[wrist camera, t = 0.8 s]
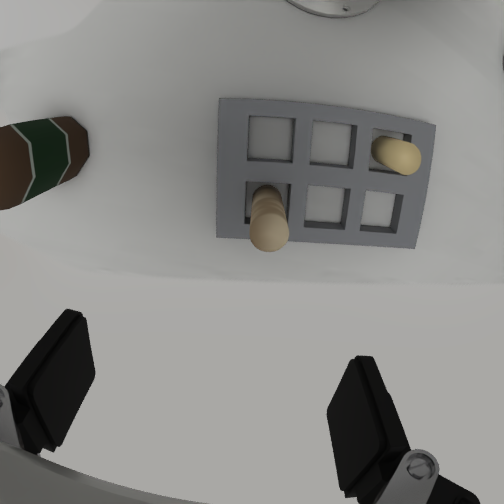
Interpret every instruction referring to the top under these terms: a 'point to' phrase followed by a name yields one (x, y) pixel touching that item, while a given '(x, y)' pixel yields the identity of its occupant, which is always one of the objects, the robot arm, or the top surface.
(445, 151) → the top surface
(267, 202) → the beech pin
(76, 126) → the beer bottle
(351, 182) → the peg board
